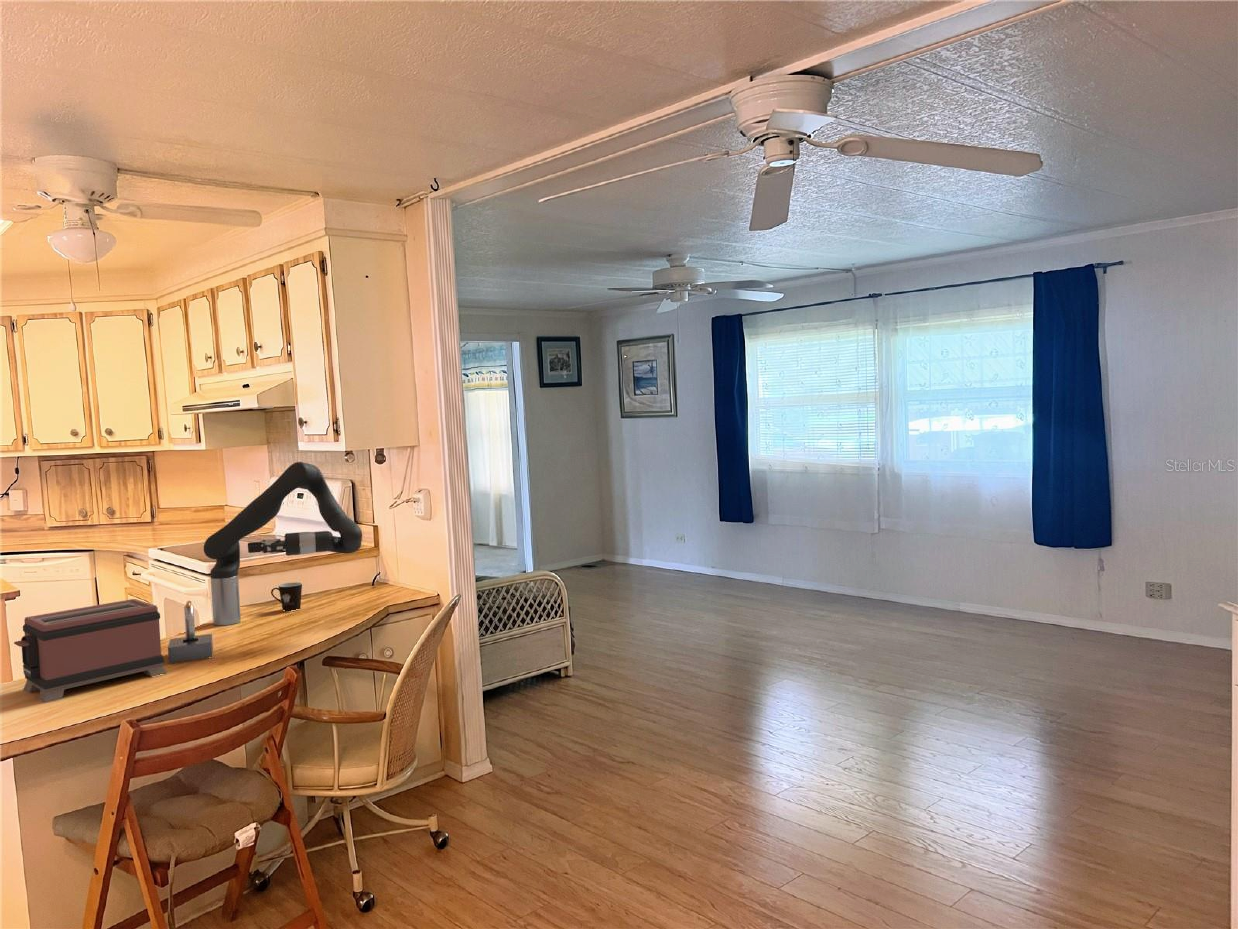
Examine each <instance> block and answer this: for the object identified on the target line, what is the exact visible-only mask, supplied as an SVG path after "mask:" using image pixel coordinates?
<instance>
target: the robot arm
mask: <svg viewBox="0 0 1238 929" xmlns="http://www.w3.org/2000/svg"><path fill="white" fill-rule="evenodd" d="M297 489H302V490H307V491H308V492H309V493H310V494H312V496H313V497H314V498H315V500H316V502H317V506H318V510H319V514H320V515H321V518H322V519H323V520H324V522H325V523H326V525H327V526H328V527H329V529H330V530H331V531H332V532H335V533H336V532H337V533H338V534H339V535H340V536H335V535H333V533H332V532H331V531H329V530H322V531H300V532H287V533H285V534H284V539H283V540H282V539H281V538H274V539H262V540H261V541H253V542H252V541H251V542H248V543H247V551H248V553H249V554H253V553H255V554H256V553H263V554H268V553H281V552H284V551H285V552H284V553H285V555H286V556H288V557H289V556H290V557H291V556H299V555H309V554H315V553H323V552H325V553H326V552H330V553H331V552H332V553H338V554H346V555H347V554H353V553H355V552H357V551H359V550H360V549H361V546H362V540H363V539H362V538H363V532H362V529H361V528H360V526H359V525H358V524H357V523H356V522H355V521H354V520H352V519H351V518H350V517H348V515H347V514H346V512H345V510H343V508H342V507H341V506H340V504H339V503H338V501H337V500H336V498H335V497H334V494H333V493H332V491H331V489H330V487H329V485H328V484H327V482H326V479H325V477H324V475H323V473H322V471H321V470H320V469H319V467H318V466H316V465H314V464H311V463H307V462H303V461H296V462H293V463H292V464H291V465H289V466H288V467H287V468H286V469H285V470H284V471H283V472H282V474H281V475H280V476H279V477H278V478H277V479H276V480H275V481H274V482H273V483H272V484H271V485H269V487H268V488H267V489H265V490H264V491H263V492H262V493H261V494H260V495H258V496H257V497H256V498H255V499H253V500H252V501H251V502H250V503H249V504H248V505H247V506H245V507H244V509H243V510H242V511H240V512H238V514H237V515H236V516H235V517H233V519H232V520H230V521H229V522H228V523H227V524H226V525H224V526H223V527H221V528H220V529H219V530H217V531H216V532H214V533H213V534H211V535H209V537H207V538H206V540H205V541H204V544H203V553H204V555H205V556H206V557H207V558H209V559H211V560H216V562H215V564H214V566H213V567H212V568H211V569H210V574H209V575H210V590H211V591H210V592H211V607H212V622H213V623H212V624H213V625H214V626H229V625H235V624H237V623H238V624H239V623H240V622H241V603H240V602H241V601H240V600H241V599H240V584H239V581H240V580H239V569H240V566H241V547H240V541H241V540H242V539H243V538H245V537H247V536H250V535H251V534H253V533H254V532H256V531H258V530H260V529H261V528H263V527H265V526H266V524H268V523H269V522H270V521H272V520H273V519H274V518H275V517H276V516H277V515H278V513H279V512H280V510H281V507H282V503H283V501H284V499H285V498H286V497H288V496H289V494H291V493H292V492H293V491H296V490H297Z"/></svg>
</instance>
